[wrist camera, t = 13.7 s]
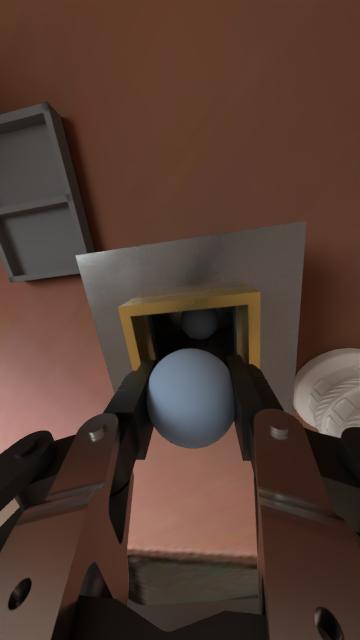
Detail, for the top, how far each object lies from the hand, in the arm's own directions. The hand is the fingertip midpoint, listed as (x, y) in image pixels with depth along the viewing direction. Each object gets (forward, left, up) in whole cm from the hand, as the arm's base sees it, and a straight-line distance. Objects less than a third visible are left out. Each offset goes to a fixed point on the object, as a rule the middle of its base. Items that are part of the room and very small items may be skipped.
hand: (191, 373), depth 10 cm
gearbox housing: (0, +2, -13) cm, 13 cm away
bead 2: (0, 0, 0) cm, 1 cm away
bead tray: (+15, -13, -13) cm, 24 cm away
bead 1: (-1, 0, -12) cm, 12 cm away
